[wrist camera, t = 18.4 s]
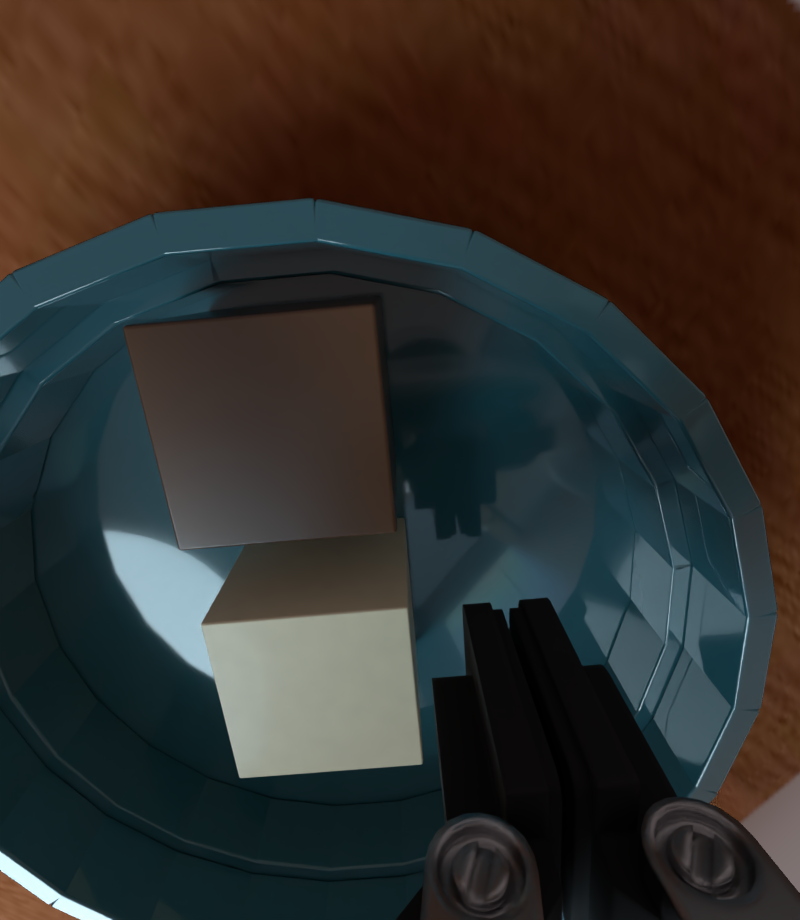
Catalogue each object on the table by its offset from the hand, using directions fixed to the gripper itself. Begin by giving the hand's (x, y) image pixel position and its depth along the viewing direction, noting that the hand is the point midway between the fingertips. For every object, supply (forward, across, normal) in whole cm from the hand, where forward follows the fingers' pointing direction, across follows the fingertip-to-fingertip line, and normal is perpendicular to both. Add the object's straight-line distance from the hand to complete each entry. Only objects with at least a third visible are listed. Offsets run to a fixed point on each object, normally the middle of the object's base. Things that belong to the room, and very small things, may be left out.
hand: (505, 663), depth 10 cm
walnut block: (+4, +4, -5) cm, 8 cm away
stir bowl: (+5, +4, +1) cm, 6 cm away
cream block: (+4, +4, +1) cm, 6 cm away
